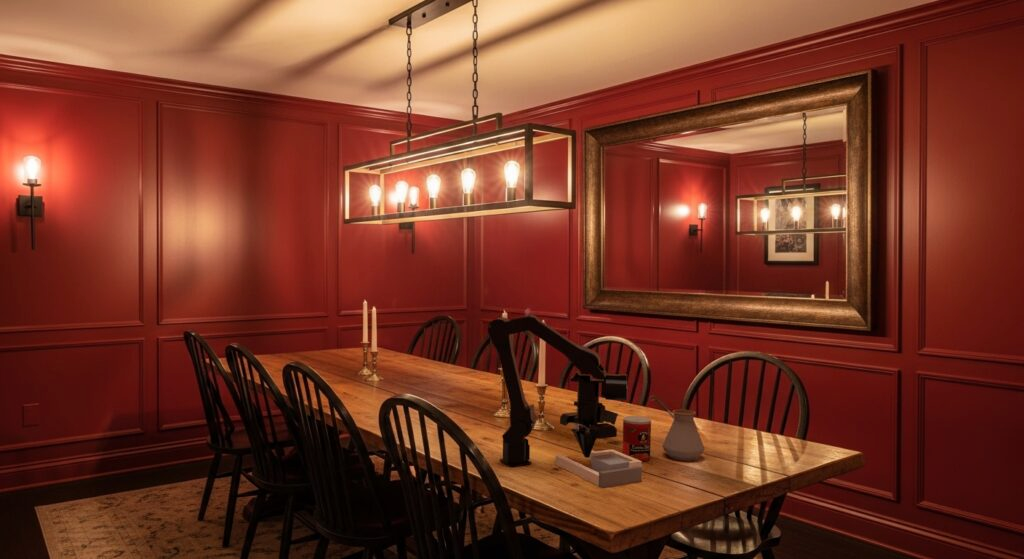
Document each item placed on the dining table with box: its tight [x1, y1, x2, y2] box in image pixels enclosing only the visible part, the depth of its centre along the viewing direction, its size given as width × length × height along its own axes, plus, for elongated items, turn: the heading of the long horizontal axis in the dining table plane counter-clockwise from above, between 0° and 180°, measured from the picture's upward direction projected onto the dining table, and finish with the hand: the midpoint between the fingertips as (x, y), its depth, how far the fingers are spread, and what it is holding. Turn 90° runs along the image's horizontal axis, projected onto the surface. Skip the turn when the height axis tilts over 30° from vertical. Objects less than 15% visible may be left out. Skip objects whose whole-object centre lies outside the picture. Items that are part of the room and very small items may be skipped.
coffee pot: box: [649, 394, 705, 462], centre depth 205 cm, size 21×12×15 cm, turn 24°
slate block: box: [590, 454, 629, 473], centre depth 180 cm, size 6×8×5 cm
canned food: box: [622, 415, 652, 462], centre depth 199 cm, size 8×8×11 cm
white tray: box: [555, 448, 643, 489], centre depth 186 cm, size 18×22×4 cm
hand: (586, 457), depth 189 cm, fingers closed
